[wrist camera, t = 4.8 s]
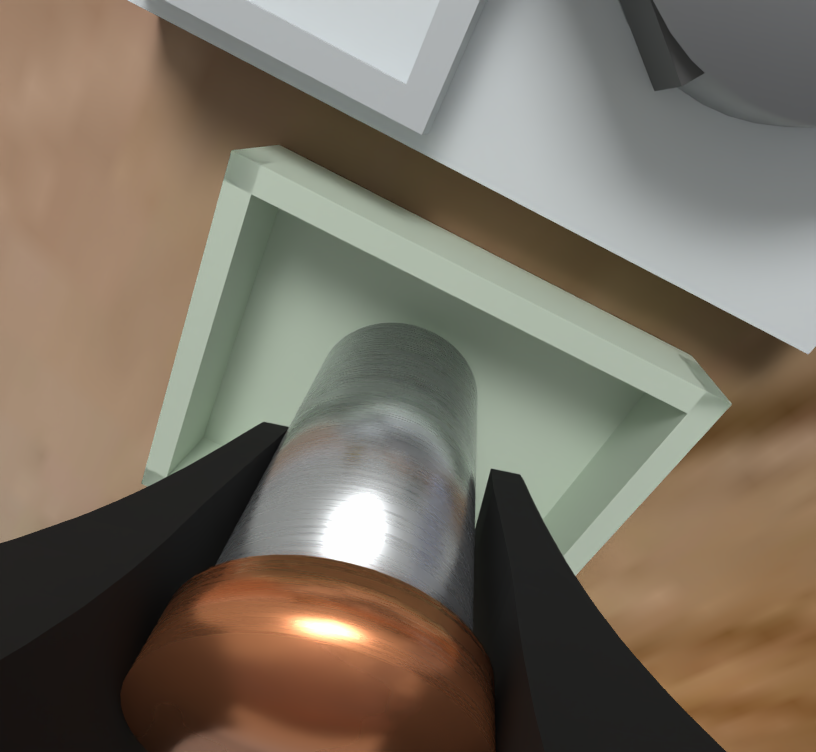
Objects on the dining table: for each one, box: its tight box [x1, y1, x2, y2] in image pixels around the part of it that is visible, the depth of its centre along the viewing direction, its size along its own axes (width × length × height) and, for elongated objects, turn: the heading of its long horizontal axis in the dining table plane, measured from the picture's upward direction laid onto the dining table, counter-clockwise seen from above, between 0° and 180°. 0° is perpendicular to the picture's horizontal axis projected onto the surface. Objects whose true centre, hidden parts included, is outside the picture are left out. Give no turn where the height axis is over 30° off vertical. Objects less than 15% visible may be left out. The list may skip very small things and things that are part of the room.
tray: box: [141, 145, 732, 576], centre depth 14 cm, size 11×9×2 cm
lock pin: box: [120, 323, 496, 752], centre depth 10 cm, size 5×5×8 cm
